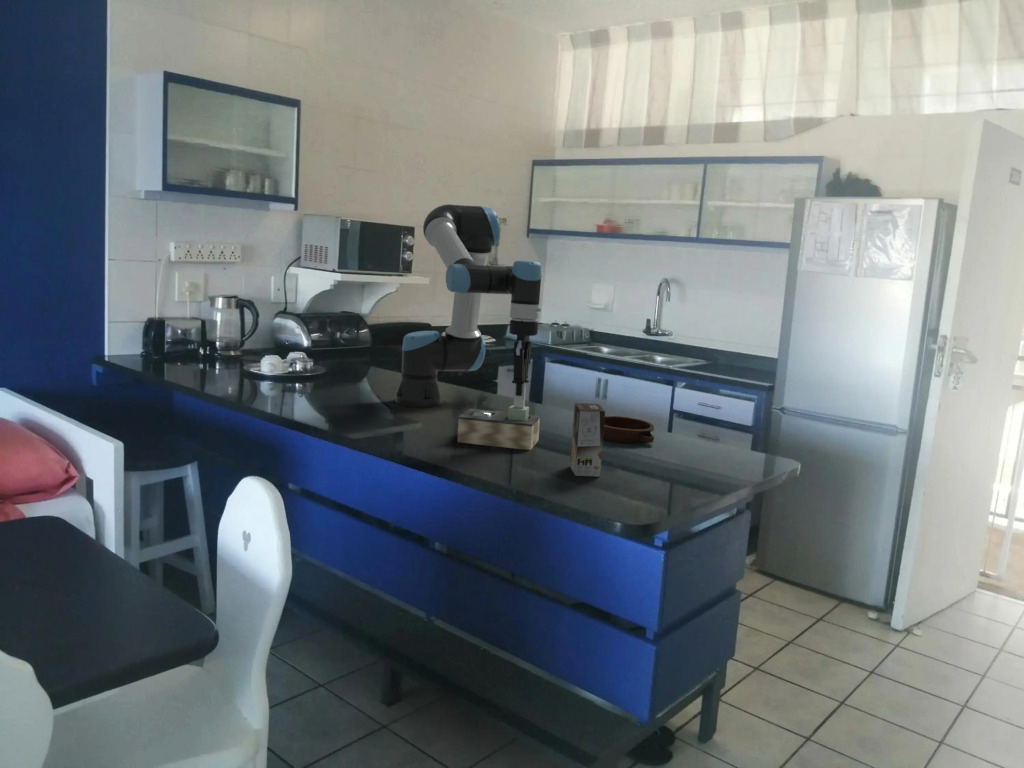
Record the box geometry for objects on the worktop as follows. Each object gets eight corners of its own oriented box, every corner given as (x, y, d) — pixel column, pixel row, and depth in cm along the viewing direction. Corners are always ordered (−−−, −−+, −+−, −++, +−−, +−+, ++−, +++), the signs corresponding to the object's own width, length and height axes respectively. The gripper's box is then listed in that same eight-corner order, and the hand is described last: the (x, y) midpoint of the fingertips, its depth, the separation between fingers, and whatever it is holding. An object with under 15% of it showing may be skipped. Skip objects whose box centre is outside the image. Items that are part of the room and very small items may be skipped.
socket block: (457, 442, 222) (458, 416, 221) (469, 432, 234) (470, 408, 233) (530, 450, 218) (532, 424, 217) (538, 440, 230) (540, 415, 229)
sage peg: (506, 433, 223) (508, 408, 222) (510, 430, 228) (511, 405, 226) (524, 435, 222) (525, 410, 221) (527, 431, 227) (529, 406, 225)
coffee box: (601, 477, 197) (606, 411, 194) (574, 476, 197) (579, 410, 194) (594, 466, 206) (599, 403, 203) (568, 465, 206) (573, 402, 203)
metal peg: (469, 438, 225) (471, 413, 224) (474, 434, 230) (475, 409, 229) (487, 440, 224) (489, 415, 223) (492, 436, 229) (493, 411, 228)
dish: (631, 451, 225) (633, 433, 224) (572, 434, 240) (573, 417, 240) (670, 443, 236) (672, 426, 235) (611, 427, 252) (613, 411, 251)
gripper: (533, 322, 212) (528, 412, 216) (542, 318, 225) (536, 403, 229) (505, 320, 214) (500, 409, 218) (515, 316, 226) (510, 401, 230)
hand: (519, 406), depth 223 cm, fingers closed
